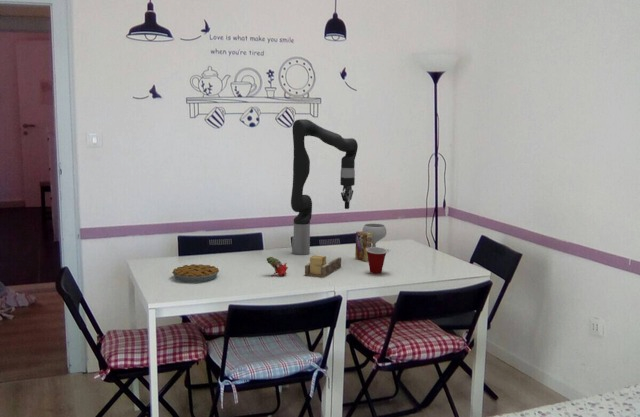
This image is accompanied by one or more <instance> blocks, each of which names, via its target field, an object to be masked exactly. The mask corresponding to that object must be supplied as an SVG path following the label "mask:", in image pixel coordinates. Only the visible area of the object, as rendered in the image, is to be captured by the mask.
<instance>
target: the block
mask: <svg viewBox="0 0 640 417" xmlns="http://www.w3.org/2000/svg"><path fill="white" fill-rule="evenodd" d="M309 263H310V273H312V274H320V275H321V267H322V266H323V265H325V264H327V256H326V255H318V254H314V255H312V256H310V257H309Z"/></svg>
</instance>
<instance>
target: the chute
mask: <svg viewBox="0 0 640 417" xmlns="http://www.w3.org/2000/svg"><path fill="white" fill-rule="evenodd" d="M340 268H342V257H337V258H335V259H334V260H331V261H330V262H328V263H326V264H325V265H323V266H322V267H321V275H320V274H312V273H310V262H308V263H306V265H304V276H307V277H314V278H322V279H324V278H326V277H327V276H329V275H330V274H332V273H334V272H336V271H337V270H339V269H340Z"/></svg>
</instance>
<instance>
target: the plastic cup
mask: <svg viewBox="0 0 640 417" xmlns="http://www.w3.org/2000/svg"><path fill="white" fill-rule="evenodd" d="M366 251H367V255H368V261H367V262H368V266H369V267H368V268H369V272H370V274H375V275H377V274H379V275H380V274H382V271H383V267H384V263H385V258H386V255H387V253H388V250H387V249H386V248H385V247H378V246H376V247H370V248H367V249H366Z"/></svg>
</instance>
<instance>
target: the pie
mask: <svg viewBox="0 0 640 417" xmlns="http://www.w3.org/2000/svg"><path fill="white" fill-rule="evenodd" d="M219 272H220V269H219V268H218V267H216V266H214V265H213V266H212V265H210V264H206V265H205V264H200V263H199V264H193V263H192V264H190V265H188V264H185V265H183V266H178V267H177V268H174V269H173V270H172V272H171V273H172V275H173V276H174V278H175V279H176V280H177V281H179V282H183V283H193V284H194V283H195V284H197V283H205V282H206V283H207V282H208V281H213V280H214V279H216V277H217V276H218V274H219Z"/></svg>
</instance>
